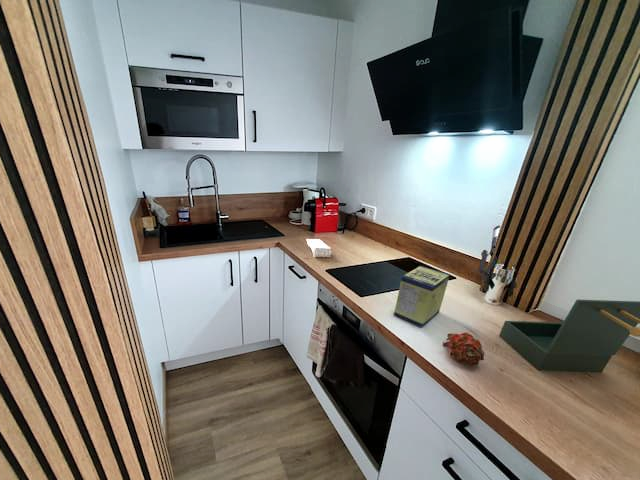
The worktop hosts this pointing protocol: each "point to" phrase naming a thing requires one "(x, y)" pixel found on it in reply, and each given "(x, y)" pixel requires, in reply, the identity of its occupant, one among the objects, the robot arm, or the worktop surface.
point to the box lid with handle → (597, 327)
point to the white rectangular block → (319, 248)
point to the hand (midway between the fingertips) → (498, 292)
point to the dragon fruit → (465, 348)
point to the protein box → (421, 295)
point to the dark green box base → (535, 342)
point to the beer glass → (498, 284)
